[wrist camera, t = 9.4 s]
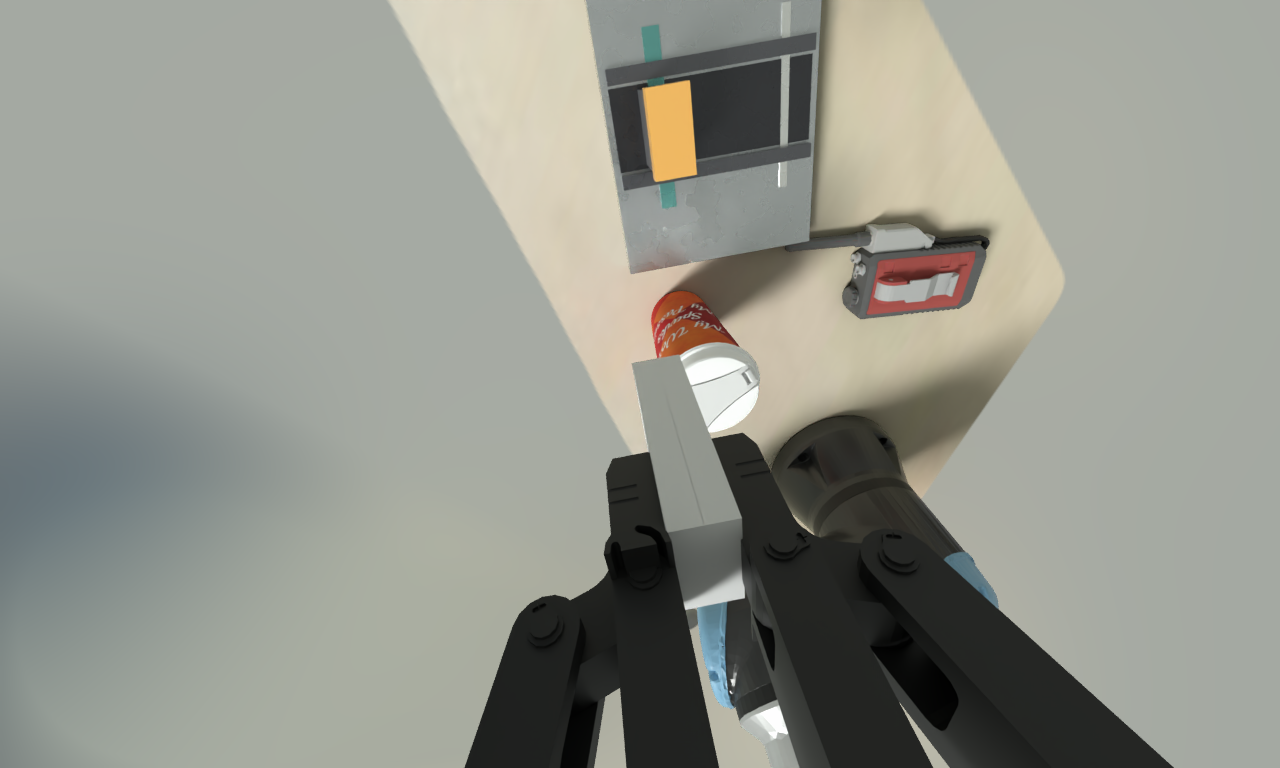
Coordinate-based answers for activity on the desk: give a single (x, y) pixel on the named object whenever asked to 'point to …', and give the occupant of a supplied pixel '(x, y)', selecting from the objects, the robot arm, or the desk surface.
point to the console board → (712, 122)
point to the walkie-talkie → (906, 269)
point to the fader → (668, 130)
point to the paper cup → (706, 358)
